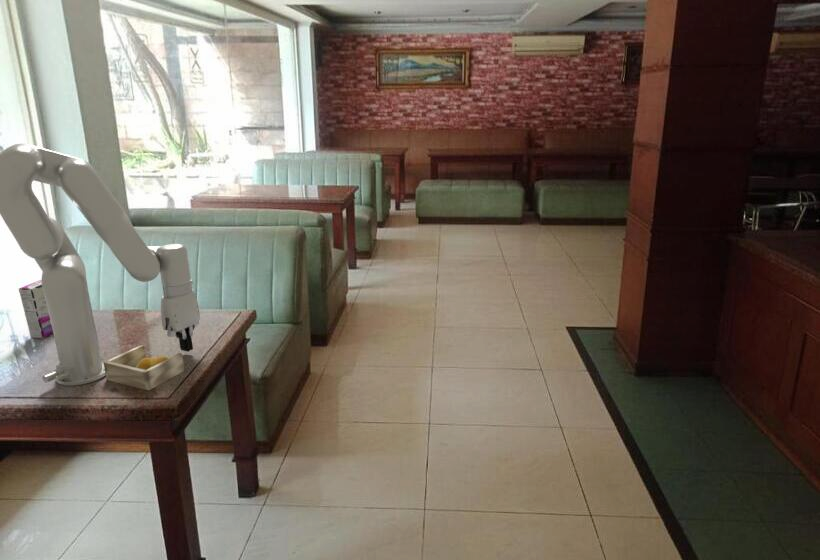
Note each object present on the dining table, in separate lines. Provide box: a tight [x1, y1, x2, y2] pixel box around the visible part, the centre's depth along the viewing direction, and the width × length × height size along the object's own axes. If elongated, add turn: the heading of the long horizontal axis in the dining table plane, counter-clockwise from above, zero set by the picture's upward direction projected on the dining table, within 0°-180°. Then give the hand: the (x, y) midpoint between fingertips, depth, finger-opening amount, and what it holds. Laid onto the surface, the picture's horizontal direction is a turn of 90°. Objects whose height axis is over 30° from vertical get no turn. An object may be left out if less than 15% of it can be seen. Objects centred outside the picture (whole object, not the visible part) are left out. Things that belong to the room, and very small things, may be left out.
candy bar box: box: [18, 279, 54, 339], centre depth 181 cm, size 11×5×16 cm, turn 170°
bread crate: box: [102, 344, 186, 391], centre depth 152 cm, size 12×15×5 cm
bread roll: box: [136, 356, 170, 370], centre depth 155 cm, size 8×9×4 cm
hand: (186, 349), depth 165 cm, fingers closed
